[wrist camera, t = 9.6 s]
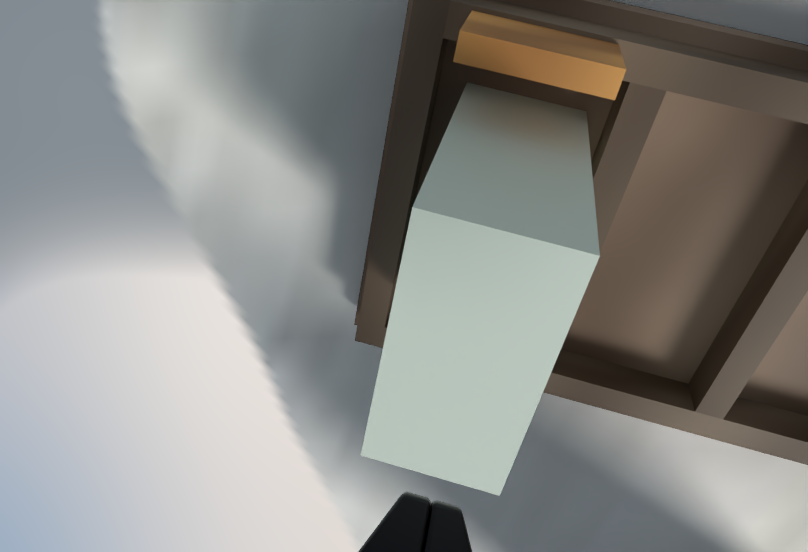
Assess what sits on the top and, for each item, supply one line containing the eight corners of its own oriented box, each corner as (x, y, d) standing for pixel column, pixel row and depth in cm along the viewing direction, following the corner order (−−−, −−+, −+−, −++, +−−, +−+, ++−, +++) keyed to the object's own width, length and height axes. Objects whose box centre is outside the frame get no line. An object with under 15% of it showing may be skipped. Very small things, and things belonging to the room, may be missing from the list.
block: (586, 111, 16) (599, 255, 10) (518, 304, 19) (499, 495, 13) (467, 82, 16) (412, 206, 10) (421, 278, 19) (360, 455, 14)
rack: (1142, 121, 14) (1318, 200, 11) (861, 446, 20) (920, 560, 17) (421, -43, 15) (382, -17, 12) (360, 310, 21) (324, 391, 18)
